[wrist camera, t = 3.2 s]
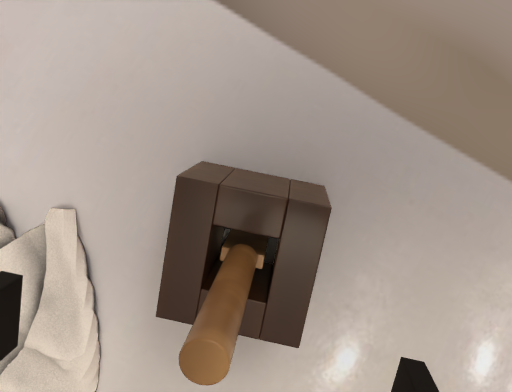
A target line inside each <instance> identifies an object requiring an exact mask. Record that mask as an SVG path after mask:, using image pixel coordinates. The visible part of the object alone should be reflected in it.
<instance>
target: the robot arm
mask: <svg viewBox="0 0 512 392" xmlns="http://www.w3.org/2000/svg"><path fill="white" fill-rule="evenodd" d="M22 283H23V275H19V274H15V273H10V272H5V271H1V272H0V361H1V360H2V359H3V358H5V357H6V356H7V355H8V354H9V353H10V352H11V351H13V350H14V349H15V348H16V347H17V346H18V335H19V322H20V309H21V296H22ZM391 392H439V390H438V388H437V386H436V384H435V382H434V380H433V378H432V376H431V374H430V372H429V370H428V369H427V367H426V365H425V363H424V362H422V361H417V360H413V359H408V358H404V357H401V359H400V363H399V366H398V370H397V373H396V377H395V380H394V383H393V387H392V390H391Z"/></svg>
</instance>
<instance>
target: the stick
mask: <svg viewBox="0 0 512 392" xmlns="http://www.w3.org/2000/svg"><path fill="white" fill-rule="evenodd" d="M268 240H269V237H268V236H264V235H259V234H254V233H249V232H244V231H240V230H235V229H231V231H230V233H229V235H228V237H227V239H226V240H225V242H224V244H223V246H222V249H221V254H220V260H221V261H223V263H222V265H221V267H220V269H219V271H218V273H217V275H216V277H215V280H214V282H213V284H212V286H211V288H210V290H209V292H208V294H207V296H206V298H205V301H204V303H203V305H202V307H201V309H200V311H199V313H198V315H197V317H196V319H195V322H194V324H193V326H192V328H191V330H190V332H189V334H188V336H187V338H186V340H185V342H184V345H183V347H182V349H181V351H180V354H179V365H180V368H181V370H182V372H183V374H184V375H185V376H186V377H187V378H188V379H189V380H190V381H192V382H194V383H196V384H200V385H212V384H216V383H218V382H219V381H221V380H222V379H223V378H224V377H225V376H226V375H227V373H228V371H229V368H230V364H231V360H232V357H233V353H234V349H235V345H236V341H237V337H238V333H239V330H240V326H241V322H242V318H243V314H244V310H245V306H246V303H247V299H248V295H249V291H250V287H251V283H252V279H253V276H254V272H255V268H259V269H262V268H263V263H264V258H265V254H266V249H267V244H268Z"/></svg>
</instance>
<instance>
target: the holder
mask: <svg viewBox="0 0 512 392" xmlns="http://www.w3.org/2000/svg"><path fill="white" fill-rule="evenodd" d="M330 213H331V205H330V202H329V199H328V196H327V193H326V190H325V187H324V186H322V185H317V184H312V183H308V182H303V181H298V180H293V179H291V180H290V179H287V178H282V177H277V176H272V175H268V174H263V173H258V172H253V171H248V170H243V169H238V168H233V167H228V166H224V165H219V164H214V163H209V162H204V161H202V162H200V163H198V164H196V165H195V166H193V167H191V168H190V169H188V170H186V171H185V172H183V173H181V174H179V175H178V176H177V179H176V185H175V192H174V198H173V205H172V212H171V218H170V225H169V232H168V238H167V245H166V252H165V258H164V265H163V271H162V278H161V285H160V291H159V298H158V305H157V311H156V317H159V318H164V319H169V320H173V321H178V322H182V323H187V324H191V325H193V324H194V322H195V319H196V317H197V315H198V313H199V311H200V309H201V307H202V305H203V303H204V301H205V298H206V296H207V294H208V292H209V290H210V288H211V286H212V284H213V282H214V280H215V277H216V275H217V273H218V271H219V269H220V267H221V265H222V263H223V261H221V260H220V254H221V253H220V249H221V244H222V238H223V233H224V227H225V228H230V229H235V230H240V231H244V232H249V233H254V234H259V235H264V236H268V237H273V238H278V242H277V246H276V251H275V256H274V261H273V264H271V263H267V262H264V263H263V268H262V269H259V268H255V272H254V276H253V279H252V283H251V287H250V291H249V295H248V299H247V303H246V306H245V310H244V314H243V318H242V322H241V326H240V330H239V333H238V335H242V336H246V337H251V338H255V339H260V340H264V341H268V342H273V343H277V344H282V345H287V346H291V347H296V348H299V346H300V341H301V337H302V333H303V329H304V324H305V320H306V316H307V311H308V307H309V303H310V298H311V294H312V290H313V286H314V281H315V277H316V273H317V268H318V264H319V260H320V256H321V251H322V247H323V243H324V238H325V234H326V230H327V225H328V221H329V217H330Z"/></svg>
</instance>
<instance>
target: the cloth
mask: <svg viewBox="0 0 512 392" xmlns="http://www.w3.org/2000/svg"><path fill="white" fill-rule="evenodd" d="M1 271H5V272H10V273H15V274H19V275H23V283H22V296H21V309H20V322H19V335H18V346H17V347H16V348H15V349H14V350H13V351H11V352H10V353H9V354H8V355H7V356H6V357H5V358H3V359H2V360H1V361H0V392H95V391H96V388H97V384H98V379H99V365H98V364H99V359H100V343H99V341H98V324H99V323H98V320H97V316H96V313H95V311H94V289H93V286H92V283H91V281H90V278H89V276H88V274H87V262H86V255H85V251H84V248H83V245H82V243H81V241H80V239H79V237H78V235H77V226H76V213H75V210H71V209H56V208H51V209H50V211H49V212H48V214H47V216H46V217H45V224H43V225H40V226H38V227H36V228H34V229H32V230H30V231H28V232H26V233H25V234H23V235H22V236H20V237H19V238H17V239H16V238H15V235H14V232H13V229H11V228H10V227H8V226H7V225H6V218H5V214H4V212H3V211H2V209H1V207H0V272H1Z"/></svg>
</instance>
